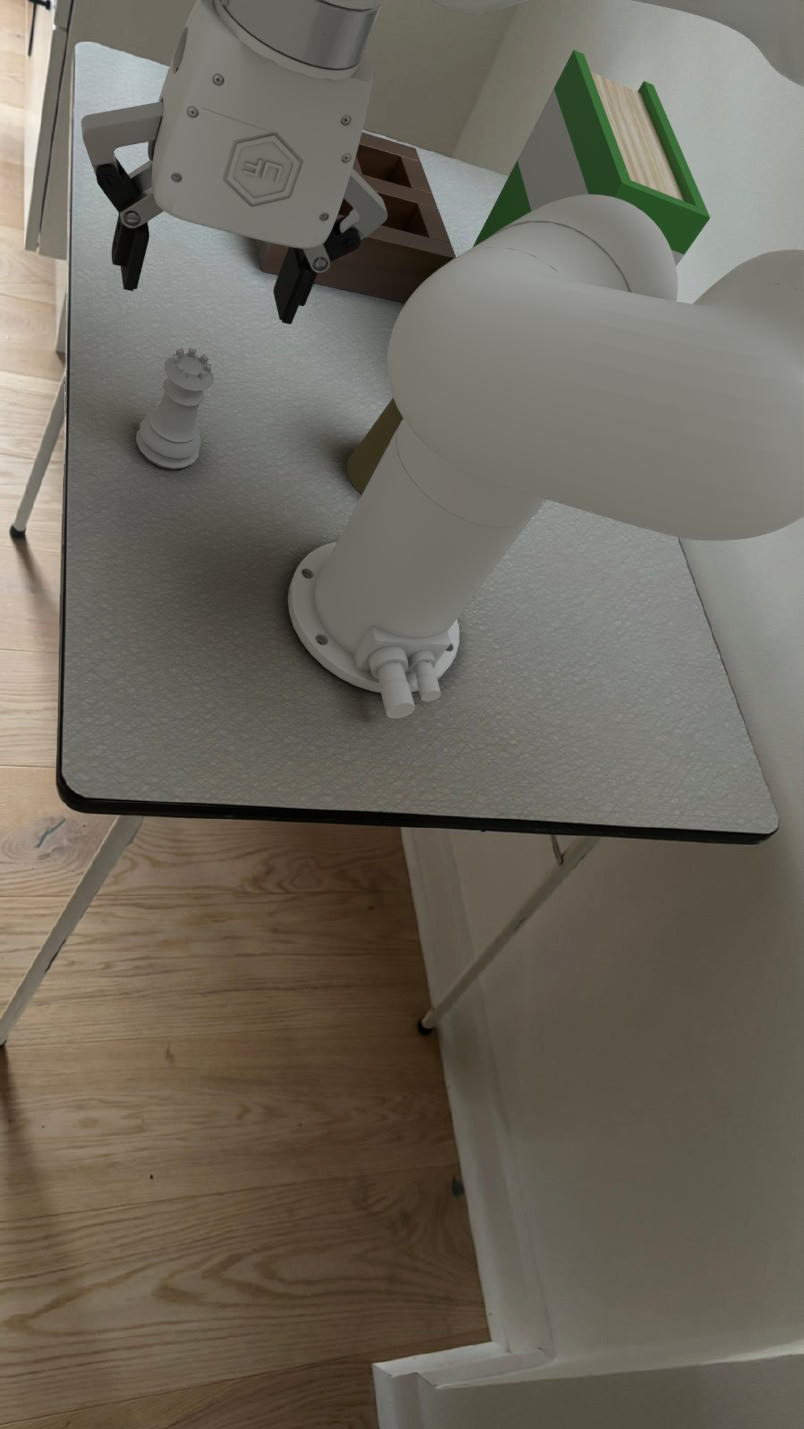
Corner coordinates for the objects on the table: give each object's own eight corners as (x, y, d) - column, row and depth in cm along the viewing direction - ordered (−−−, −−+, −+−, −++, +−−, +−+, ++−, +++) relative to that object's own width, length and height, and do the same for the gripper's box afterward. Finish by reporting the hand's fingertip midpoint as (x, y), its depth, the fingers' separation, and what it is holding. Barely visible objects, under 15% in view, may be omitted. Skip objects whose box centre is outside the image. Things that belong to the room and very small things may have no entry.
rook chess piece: (203, 440, 74) (232, 354, 68) (190, 481, 71) (218, 396, 65) (143, 417, 73) (166, 327, 66) (127, 458, 70) (150, 368, 64)
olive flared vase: (410, 519, 78) (473, 414, 70) (338, 485, 77) (394, 374, 69) (423, 470, 82) (485, 365, 73) (355, 438, 81) (410, 326, 72)
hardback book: (441, 307, 95) (573, 49, 77) (510, 329, 98) (653, 85, 80) (465, 440, 86) (622, 183, 68) (540, 459, 89) (710, 217, 71)
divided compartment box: (431, 309, 95) (457, 259, 90) (262, 271, 87) (281, 215, 83) (394, 199, 102) (415, 147, 98) (235, 155, 95) (251, 98, 91)
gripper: (121, -21, 43) (63, 305, 56) (470, 100, 51) (347, 361, 64) (108, -108, 46) (55, 218, 60) (436, 18, 54) (326, 282, 67)
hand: (207, 292), depth 62 cm, fingers open, 9 cm apart
